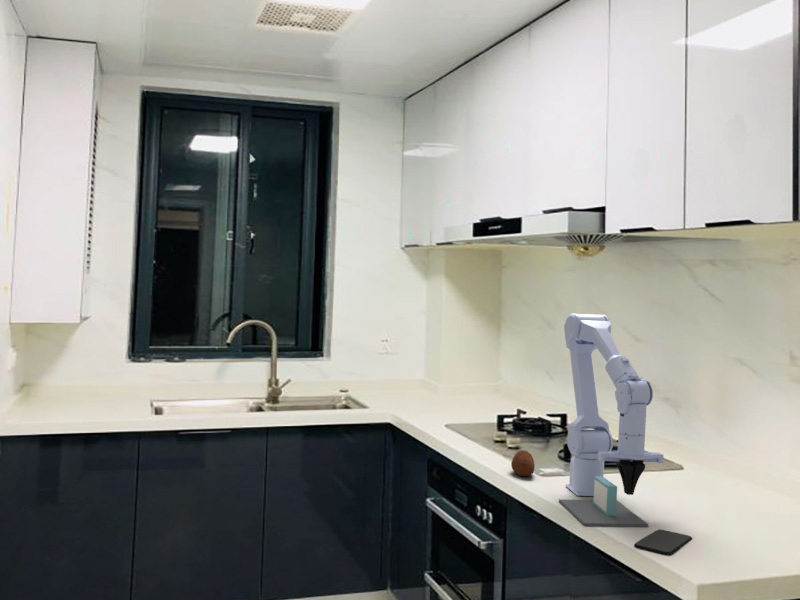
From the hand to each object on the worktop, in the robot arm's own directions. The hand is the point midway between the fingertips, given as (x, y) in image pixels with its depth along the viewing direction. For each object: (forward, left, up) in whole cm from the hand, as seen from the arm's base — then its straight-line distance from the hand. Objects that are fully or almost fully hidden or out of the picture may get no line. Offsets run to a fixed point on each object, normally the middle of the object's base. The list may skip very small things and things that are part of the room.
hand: (628, 493), depth 177 cm
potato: (-34, -15, -5) cm, 38 cm away
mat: (+1, -6, -4) cm, 8 cm away
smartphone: (+20, 0, -5) cm, 21 cm away
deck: (0, -5, -4) cm, 7 cm away
